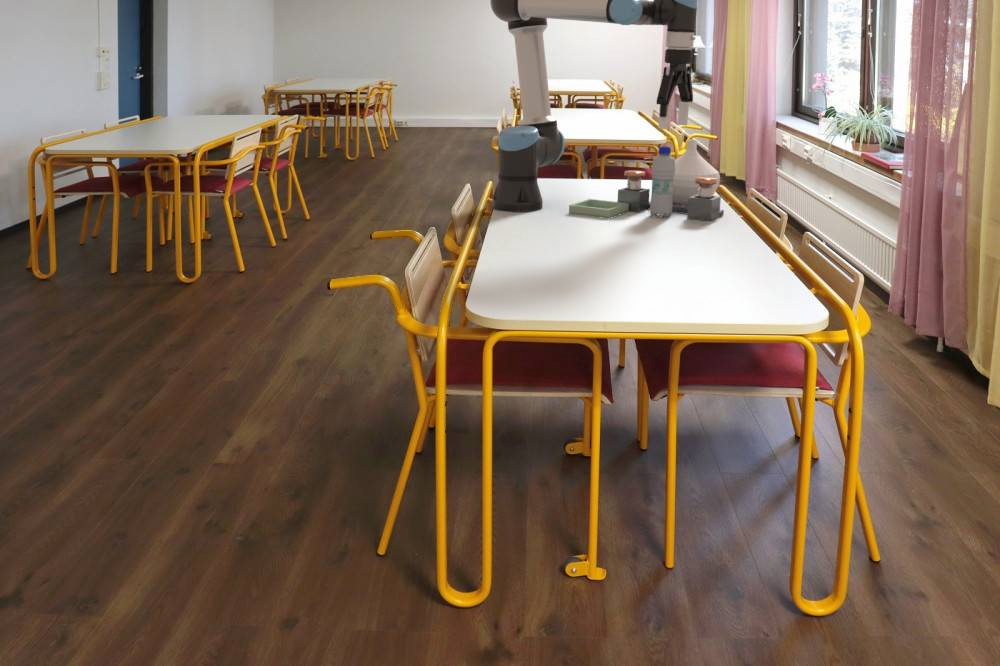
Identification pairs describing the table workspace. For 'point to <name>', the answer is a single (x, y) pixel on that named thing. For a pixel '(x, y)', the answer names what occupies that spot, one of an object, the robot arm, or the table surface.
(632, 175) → the plunger left
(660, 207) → the bottle
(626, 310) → the table surface
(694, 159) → the vase
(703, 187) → the plunger right
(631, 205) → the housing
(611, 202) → the tray
